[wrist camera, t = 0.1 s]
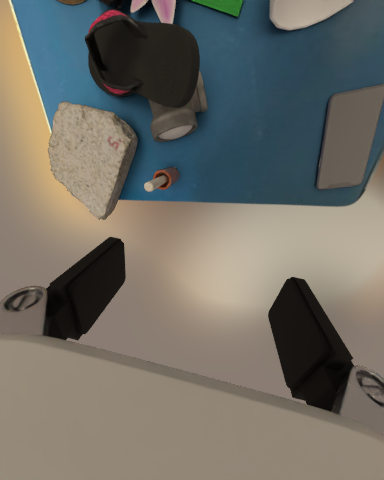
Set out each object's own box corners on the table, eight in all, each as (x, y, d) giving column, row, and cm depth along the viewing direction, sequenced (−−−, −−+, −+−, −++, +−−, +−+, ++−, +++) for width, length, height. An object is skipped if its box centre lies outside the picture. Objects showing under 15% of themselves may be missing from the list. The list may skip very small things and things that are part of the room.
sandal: (97, 16, 28) (56, 1, 25) (211, -2, 16) (161, -37, 13) (107, 92, 34) (75, 88, 31) (195, 119, 22) (158, 118, 19)
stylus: (168, 171, 37) (144, 181, 26) (174, 172, 37) (153, 183, 26) (167, 177, 38) (144, 190, 27) (174, 179, 38) (152, 192, 26)
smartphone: (389, 82, 26) (362, 185, 32) (384, 84, 27) (358, 184, 33) (331, 94, 27) (316, 190, 34) (327, 96, 28) (314, 189, 35)
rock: (115, 209, 47) (98, 229, 39) (49, 159, 40) (11, 171, 32) (163, 149, 38) (153, 159, 30) (88, 72, 31) (48, 59, 23)
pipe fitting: (160, 147, 35) (210, 131, 34) (148, 139, 28) (212, 117, 26) (139, 76, 31) (194, 54, 30) (118, 44, 24) (190, 11, 22)
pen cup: (164, 165, 37) (153, 168, 31) (180, 168, 37) (172, 172, 31) (163, 181, 39) (152, 187, 33) (178, 184, 39) (170, 191, 33)
